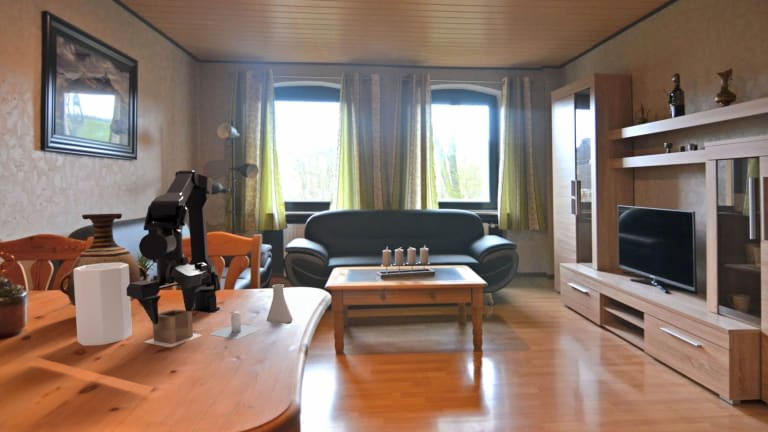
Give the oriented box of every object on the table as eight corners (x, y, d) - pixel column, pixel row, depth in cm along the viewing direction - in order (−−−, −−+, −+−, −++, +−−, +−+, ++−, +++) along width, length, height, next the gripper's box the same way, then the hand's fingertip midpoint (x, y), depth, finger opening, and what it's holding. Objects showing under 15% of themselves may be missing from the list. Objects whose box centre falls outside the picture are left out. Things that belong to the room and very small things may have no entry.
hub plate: (208, 339, 109) (207, 314, 109) (235, 328, 118) (235, 305, 117) (237, 344, 106) (236, 318, 105) (263, 332, 114) (262, 308, 113)
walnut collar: (153, 340, 105) (152, 315, 105) (175, 333, 111) (174, 309, 110) (171, 344, 103) (170, 318, 102) (192, 336, 108) (191, 311, 108)
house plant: (173, 287, 169) (171, 244, 168) (155, 296, 155) (153, 249, 154) (135, 288, 168) (132, 245, 167) (113, 297, 155) (111, 250, 154)
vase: (56, 328, 121) (49, 216, 119) (71, 311, 137) (65, 213, 135) (146, 317, 129) (141, 213, 127) (150, 303, 146) (145, 210, 144)
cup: (74, 354, 101) (69, 272, 100) (81, 339, 111) (76, 265, 110) (131, 345, 106) (127, 267, 105) (133, 332, 116) (129, 260, 115)
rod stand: (143, 346, 105) (142, 328, 104) (176, 335, 113) (175, 317, 113) (170, 352, 101) (169, 333, 101) (202, 339, 109) (201, 322, 109)
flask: (286, 326, 119) (285, 288, 118) (260, 325, 120) (259, 288, 120) (296, 318, 126) (295, 283, 125) (272, 317, 128) (271, 282, 127)
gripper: (158, 261, 94) (161, 335, 95) (225, 249, 111) (227, 312, 112) (123, 258, 99) (126, 328, 100) (192, 247, 115) (195, 307, 116)
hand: (172, 318), depth 107 cm, fingers open, 9 cm apart
